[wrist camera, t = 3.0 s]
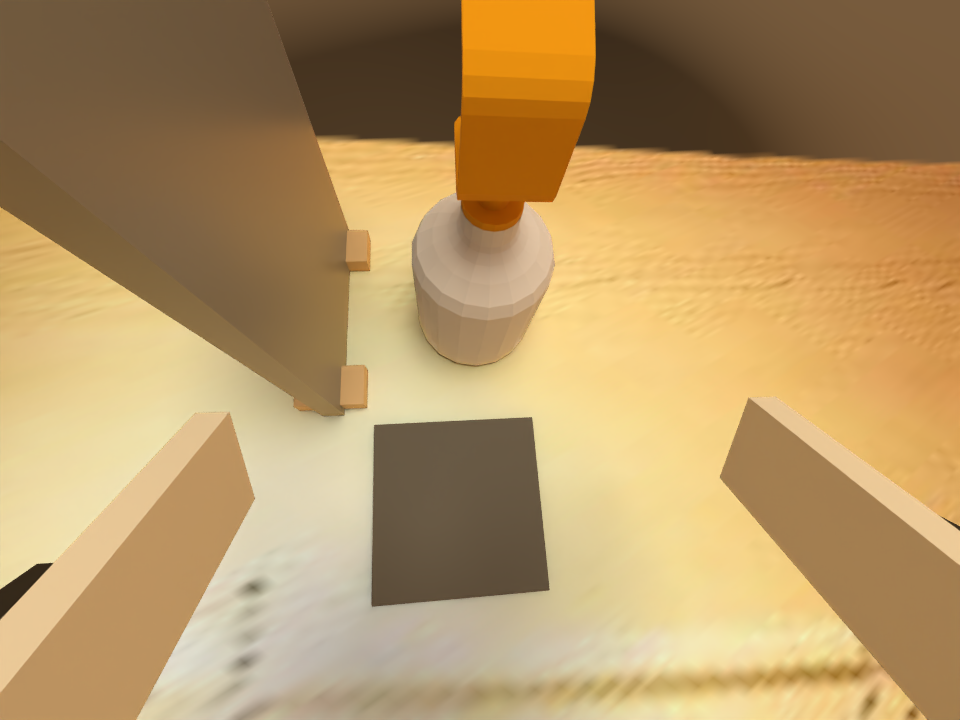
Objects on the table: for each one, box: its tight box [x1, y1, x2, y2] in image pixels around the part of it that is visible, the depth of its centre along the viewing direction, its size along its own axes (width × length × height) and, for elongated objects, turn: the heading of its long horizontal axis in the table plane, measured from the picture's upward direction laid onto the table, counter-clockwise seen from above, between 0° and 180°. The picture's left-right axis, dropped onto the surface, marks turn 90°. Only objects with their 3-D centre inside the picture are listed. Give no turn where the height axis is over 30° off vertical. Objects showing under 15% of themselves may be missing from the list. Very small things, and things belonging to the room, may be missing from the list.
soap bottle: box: [412, 0, 595, 366], centre depth 24 cm, size 9×9×25 cm
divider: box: [0, 0, 370, 416], centre depth 21 cm, size 5×16×27 cm, turn 3°
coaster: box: [372, 417, 549, 606], centre depth 30 cm, size 12×12×1 cm
